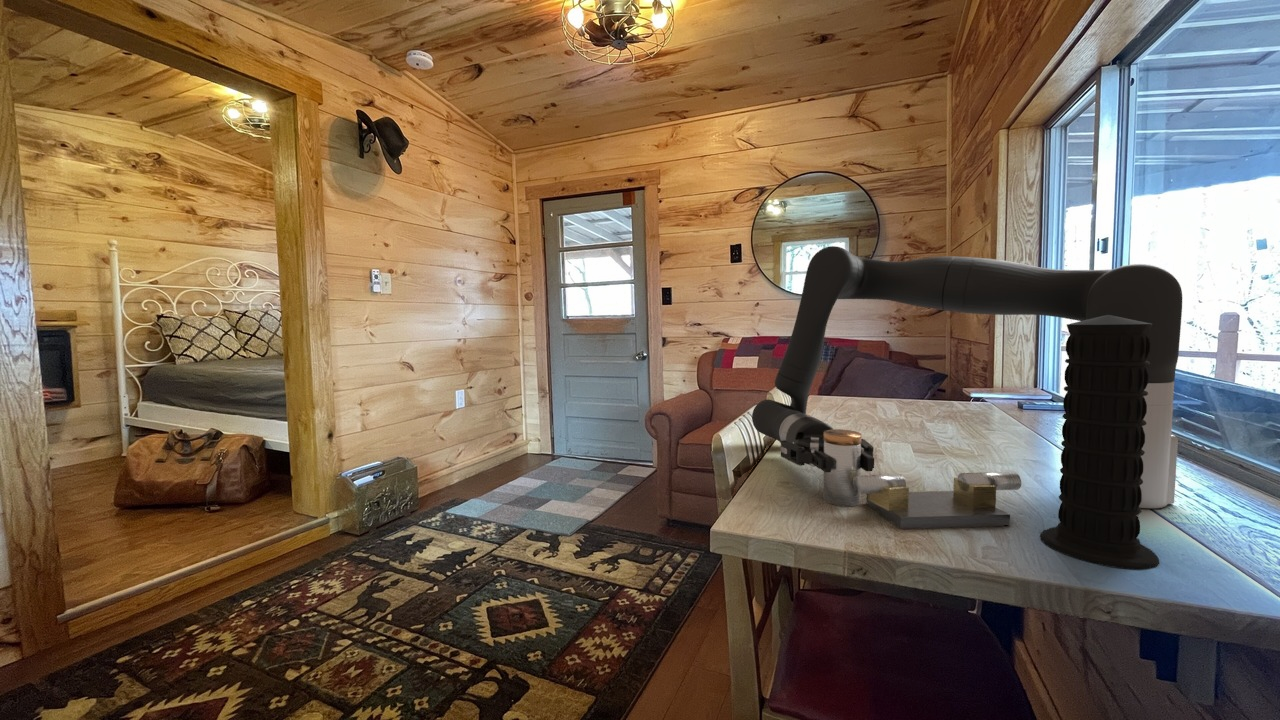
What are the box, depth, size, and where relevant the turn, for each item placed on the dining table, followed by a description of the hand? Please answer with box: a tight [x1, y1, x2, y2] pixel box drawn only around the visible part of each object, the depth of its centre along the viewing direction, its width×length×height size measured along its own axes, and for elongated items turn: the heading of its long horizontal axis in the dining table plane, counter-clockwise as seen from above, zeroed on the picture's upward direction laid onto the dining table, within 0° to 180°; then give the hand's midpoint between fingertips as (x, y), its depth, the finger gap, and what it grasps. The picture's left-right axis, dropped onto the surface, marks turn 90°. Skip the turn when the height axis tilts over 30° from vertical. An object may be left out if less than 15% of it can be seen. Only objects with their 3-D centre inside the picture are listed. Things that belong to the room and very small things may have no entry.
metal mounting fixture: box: [853, 471, 1022, 530], centre depth 67 cm, size 22×9×6 cm, turn 91°
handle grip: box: [1039, 315, 1161, 570], centre depth 56 cm, size 10×26×10 cm
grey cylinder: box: [822, 428, 862, 507], centre depth 73 cm, size 5×5×10 cm
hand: (849, 464), depth 70 cm, fingers open, 5 cm apart
